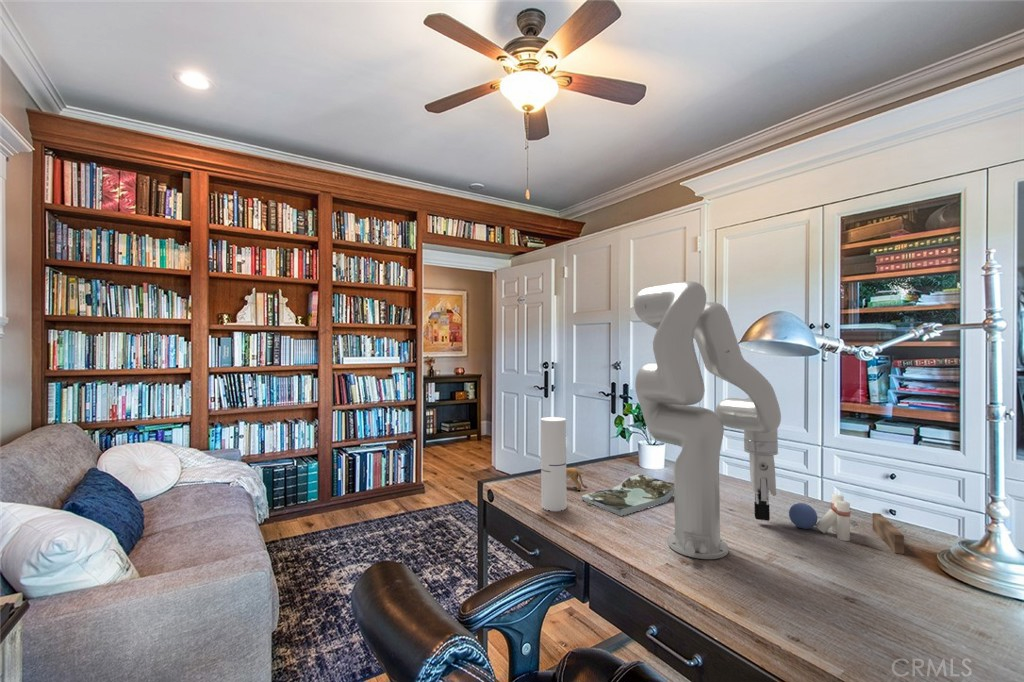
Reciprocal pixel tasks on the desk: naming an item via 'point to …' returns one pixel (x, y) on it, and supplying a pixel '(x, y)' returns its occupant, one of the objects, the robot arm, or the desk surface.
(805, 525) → the ball
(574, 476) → the lion figurine
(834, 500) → the rear pin far
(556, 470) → the cylindrical container
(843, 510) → the rear pin near
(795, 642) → the desk surface
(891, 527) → the stopper rail
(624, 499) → the topographical model
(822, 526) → the front pin
